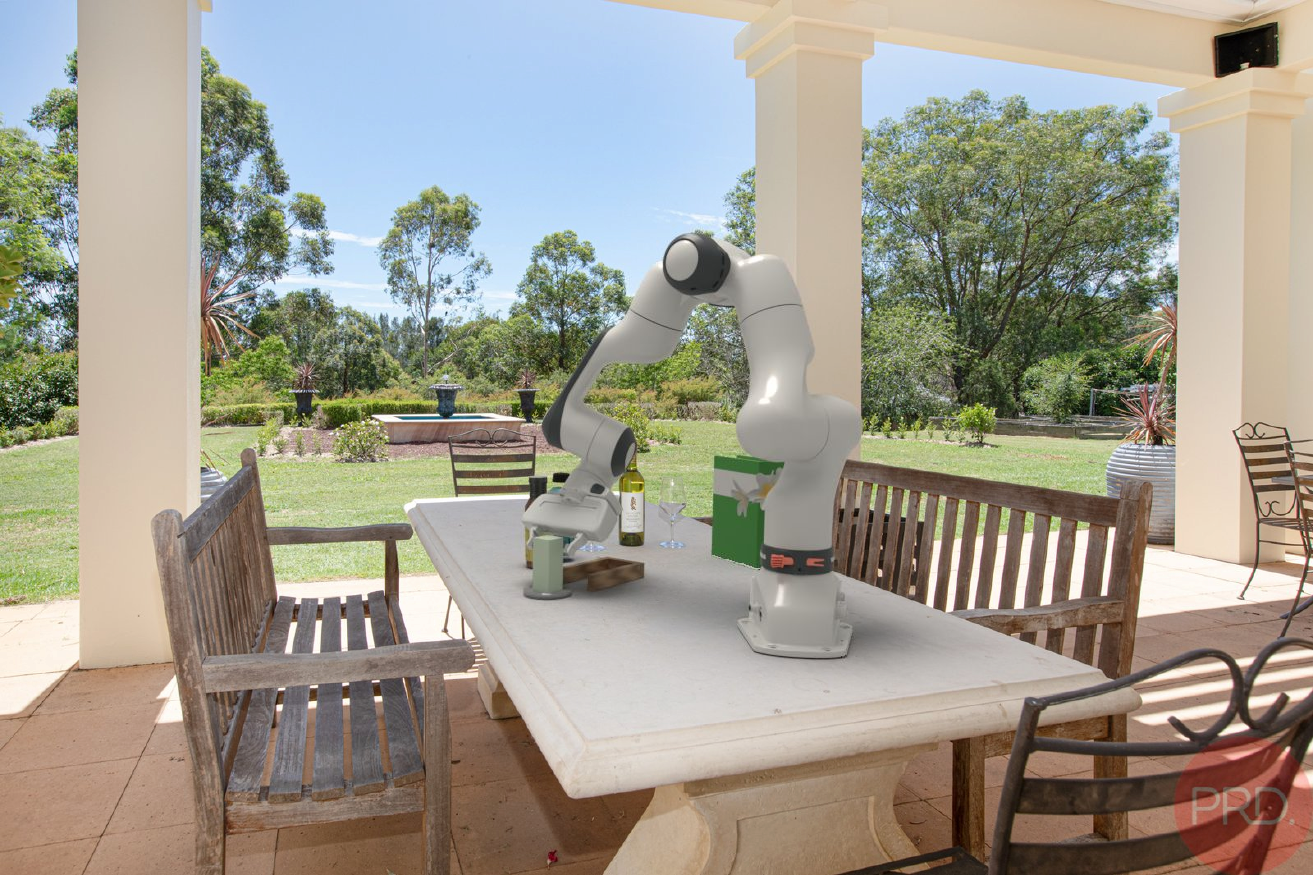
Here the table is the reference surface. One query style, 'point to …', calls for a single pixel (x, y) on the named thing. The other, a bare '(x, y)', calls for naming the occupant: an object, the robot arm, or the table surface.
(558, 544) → the block
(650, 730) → the table surface
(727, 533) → the green gift bag
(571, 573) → the channel
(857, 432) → the robot arm
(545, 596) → the coaster
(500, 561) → the table surface
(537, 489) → the sauce bottle
